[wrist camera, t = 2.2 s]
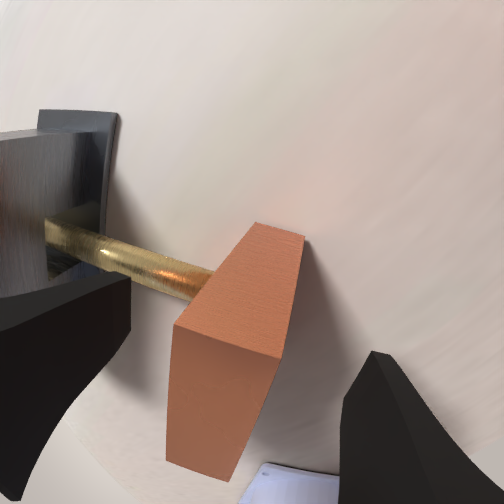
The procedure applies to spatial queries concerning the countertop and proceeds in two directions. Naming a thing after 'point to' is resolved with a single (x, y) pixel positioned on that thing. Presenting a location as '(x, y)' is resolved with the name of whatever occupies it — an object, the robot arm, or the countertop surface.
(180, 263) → the brass rod mallet
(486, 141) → the countertop surface
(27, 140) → the eye block
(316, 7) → the countertop surface
